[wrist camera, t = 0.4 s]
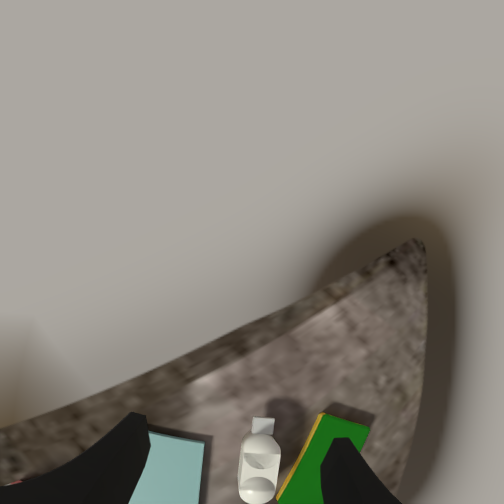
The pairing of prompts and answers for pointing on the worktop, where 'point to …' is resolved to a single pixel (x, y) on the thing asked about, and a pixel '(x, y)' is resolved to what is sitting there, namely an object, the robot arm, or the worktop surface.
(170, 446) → the teal mat
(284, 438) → the worktop surface
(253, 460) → the white rounded piece
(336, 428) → the dish sponge
